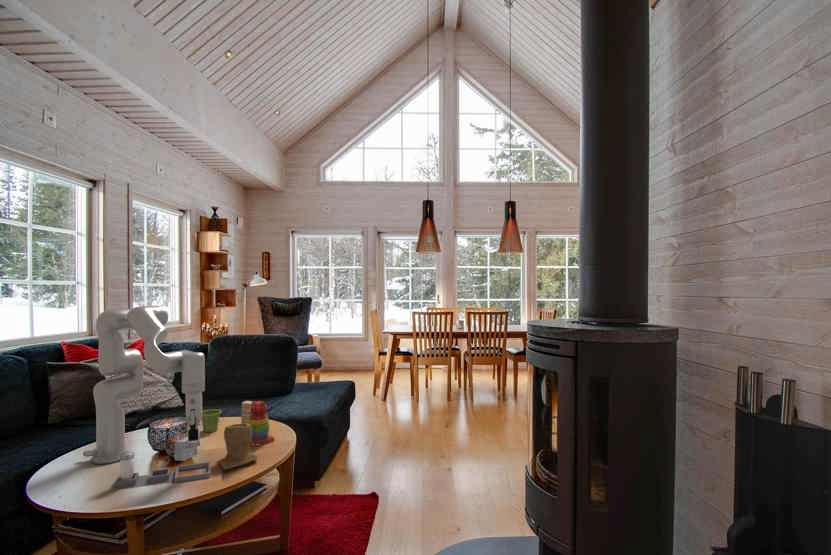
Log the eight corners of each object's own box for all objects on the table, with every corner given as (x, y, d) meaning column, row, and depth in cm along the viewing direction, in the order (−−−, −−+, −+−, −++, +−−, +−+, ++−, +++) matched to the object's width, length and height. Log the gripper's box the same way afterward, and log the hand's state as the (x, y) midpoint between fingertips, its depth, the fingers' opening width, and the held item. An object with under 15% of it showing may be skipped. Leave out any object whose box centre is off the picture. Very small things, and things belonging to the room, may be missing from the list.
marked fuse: (187, 448, 167) (186, 419, 167) (187, 444, 170) (187, 416, 171) (199, 446, 168) (199, 418, 168) (200, 443, 172) (200, 415, 172)
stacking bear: (276, 440, 210) (276, 399, 210) (260, 447, 201) (260, 405, 201) (257, 436, 214) (257, 397, 214) (240, 443, 205) (240, 402, 205)
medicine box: (184, 465, 181) (184, 442, 181) (174, 464, 182) (174, 441, 182) (197, 457, 189) (197, 435, 189) (187, 456, 190) (187, 435, 190)
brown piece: (245, 454, 192) (245, 417, 192) (261, 462, 184) (262, 423, 184) (209, 466, 180) (209, 426, 180) (224, 474, 173) (225, 433, 173)
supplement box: (240, 430, 223) (240, 403, 223) (246, 427, 227) (246, 400, 227) (257, 431, 221) (257, 403, 221) (262, 428, 226) (262, 401, 226)
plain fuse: (119, 486, 159) (119, 456, 159) (121, 481, 163) (121, 452, 163) (132, 484, 161) (132, 454, 161) (134, 479, 164) (134, 450, 164)
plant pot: (225, 430, 224) (225, 411, 224) (205, 435, 216) (205, 416, 216) (214, 426, 230) (214, 408, 230) (195, 431, 222) (195, 412, 222)
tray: (174, 486, 162) (174, 478, 162) (177, 474, 172) (177, 466, 172) (209, 481, 166) (209, 472, 166) (210, 469, 177) (210, 461, 177)
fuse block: (110, 495, 156) (110, 484, 156) (116, 483, 165) (116, 473, 165) (171, 486, 162) (171, 476, 162) (174, 475, 172) (174, 465, 172)
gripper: (204, 391, 163) (204, 444, 163) (205, 381, 179) (205, 430, 179) (179, 393, 160) (180, 447, 160) (183, 383, 176) (183, 433, 176)
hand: (193, 437), depth 169 cm, fingers closed on marked fuse, 4 cm apart
